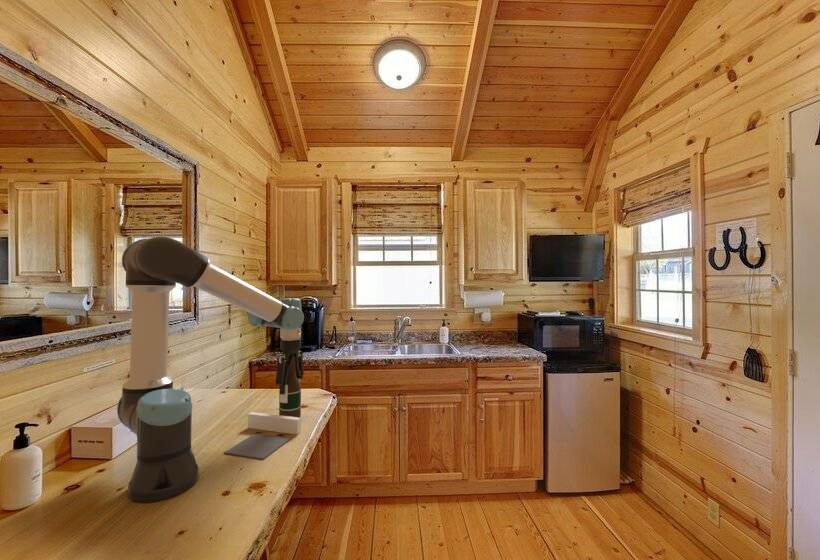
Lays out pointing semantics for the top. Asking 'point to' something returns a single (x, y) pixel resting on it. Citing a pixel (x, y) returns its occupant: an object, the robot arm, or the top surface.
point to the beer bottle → (292, 395)
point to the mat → (258, 446)
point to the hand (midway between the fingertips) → (290, 398)
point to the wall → (274, 423)
